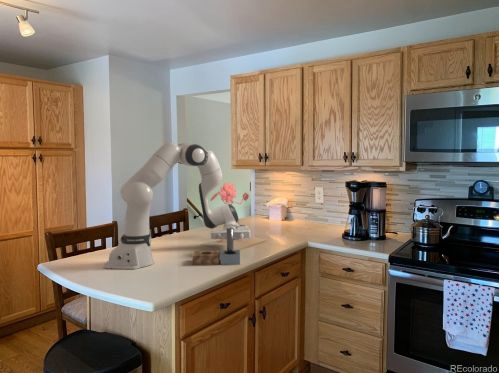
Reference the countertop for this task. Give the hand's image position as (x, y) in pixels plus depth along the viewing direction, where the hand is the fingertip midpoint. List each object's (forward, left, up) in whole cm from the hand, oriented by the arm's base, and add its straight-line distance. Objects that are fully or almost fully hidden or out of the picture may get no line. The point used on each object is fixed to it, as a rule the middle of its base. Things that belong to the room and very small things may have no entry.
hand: (230, 237), depth 188 cm
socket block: (0, -6, -11) cm, 12 cm away
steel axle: (0, -6, -11) cm, 12 cm away
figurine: (-2, +44, -11) cm, 46 cm away
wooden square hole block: (-12, -6, -11) cm, 17 cm away
